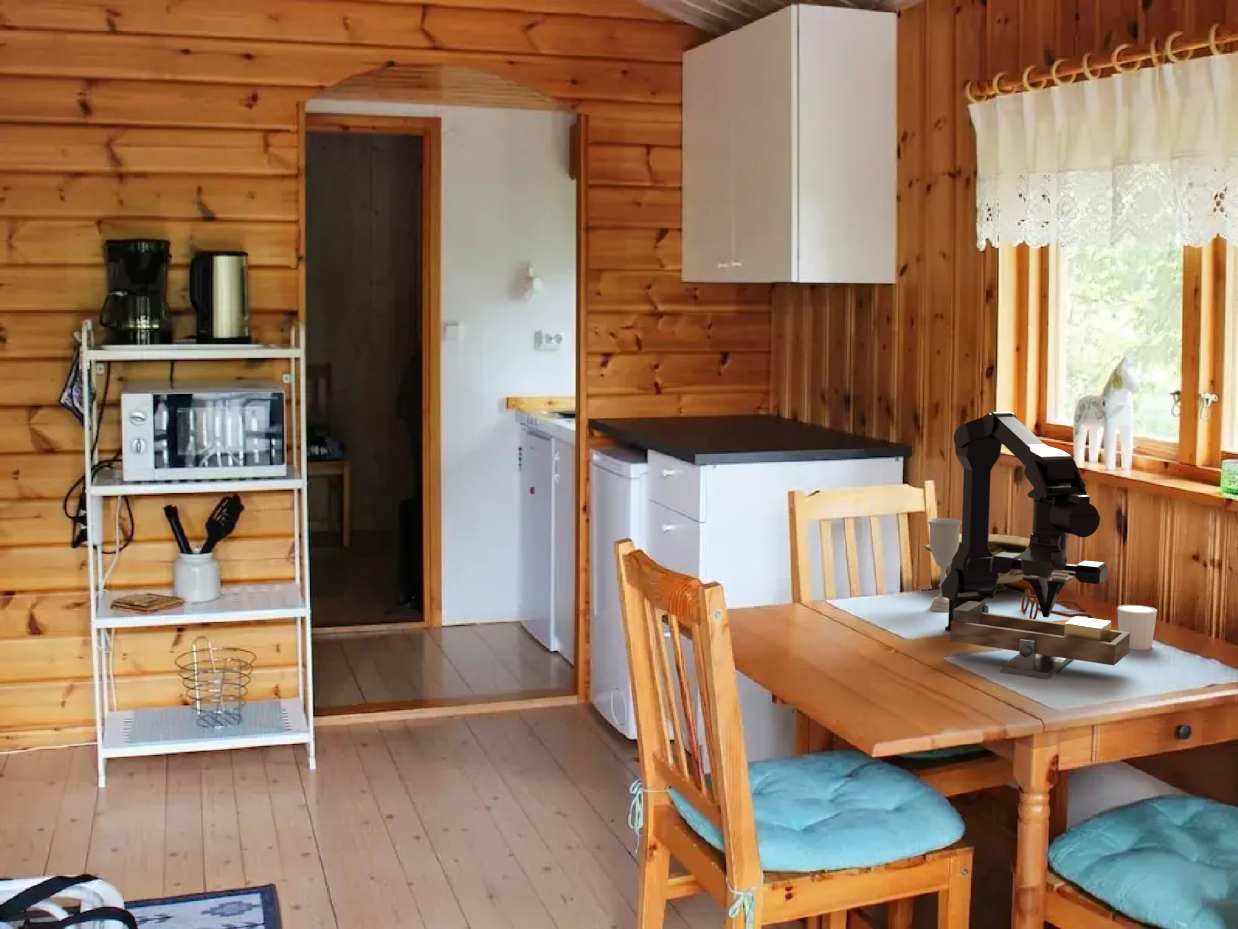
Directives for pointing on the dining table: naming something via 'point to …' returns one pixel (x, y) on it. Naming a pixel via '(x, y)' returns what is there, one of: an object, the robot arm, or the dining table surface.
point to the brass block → (1088, 629)
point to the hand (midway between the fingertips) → (1046, 617)
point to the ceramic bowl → (997, 546)
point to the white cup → (1138, 625)
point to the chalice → (943, 552)
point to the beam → (1032, 636)
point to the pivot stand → (1033, 662)
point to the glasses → (1052, 610)
